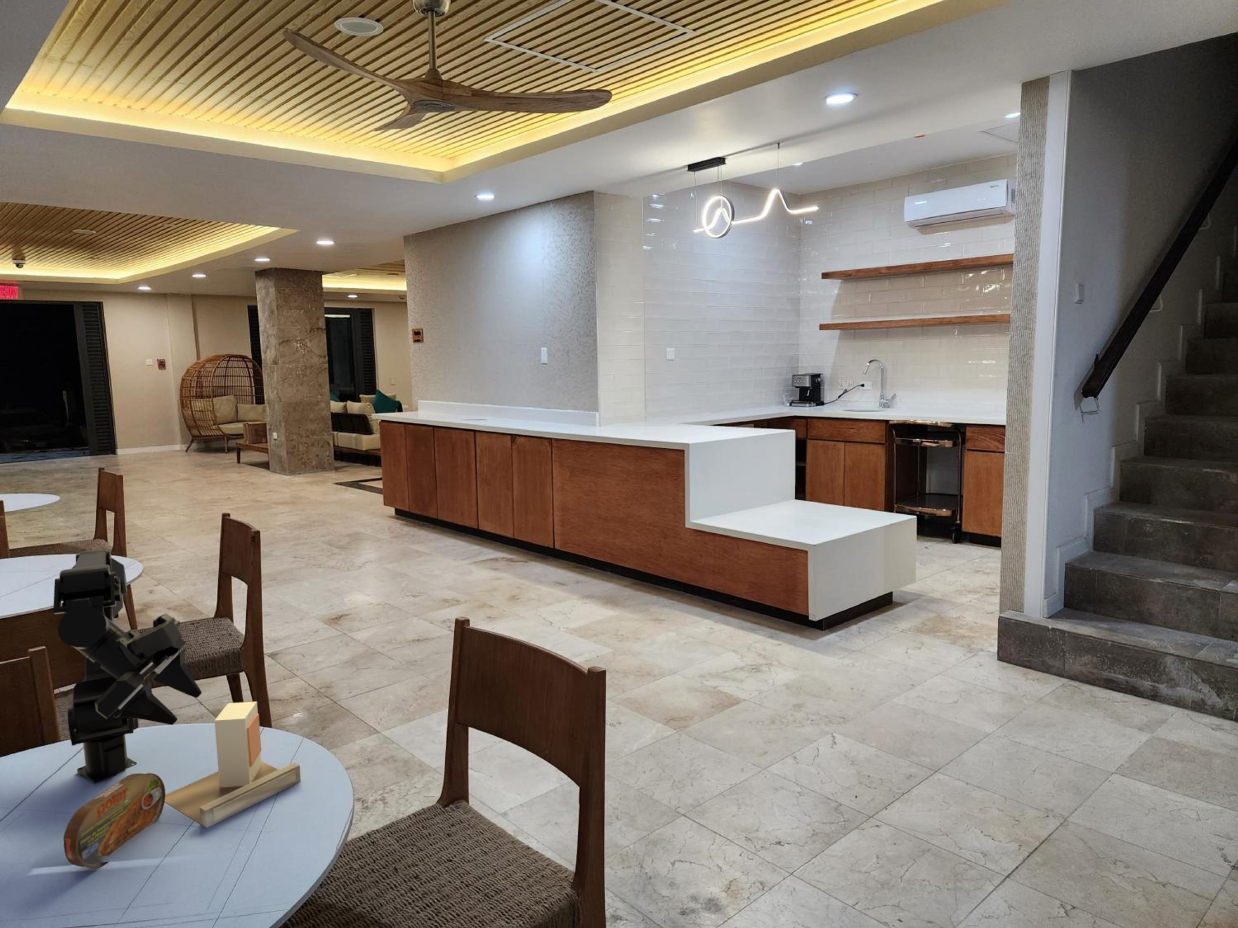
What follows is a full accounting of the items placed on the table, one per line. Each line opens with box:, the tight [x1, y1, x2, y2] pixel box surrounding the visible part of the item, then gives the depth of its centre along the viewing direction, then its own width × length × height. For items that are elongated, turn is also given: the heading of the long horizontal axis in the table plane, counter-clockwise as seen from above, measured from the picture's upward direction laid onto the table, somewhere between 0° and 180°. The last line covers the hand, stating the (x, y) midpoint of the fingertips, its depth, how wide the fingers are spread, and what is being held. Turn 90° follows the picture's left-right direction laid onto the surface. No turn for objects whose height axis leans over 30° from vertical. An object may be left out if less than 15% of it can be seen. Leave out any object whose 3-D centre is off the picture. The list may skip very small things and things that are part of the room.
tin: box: [63, 772, 166, 869], centre depth 110 cm, size 15×3×8 cm, turn 168°
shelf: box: [164, 760, 301, 829], centre depth 123 cm, size 14×15×3 cm
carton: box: [214, 701, 262, 787], centre depth 126 cm, size 5×6×11 cm
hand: (187, 708), depth 124 cm, fingers open, 9 cm apart
